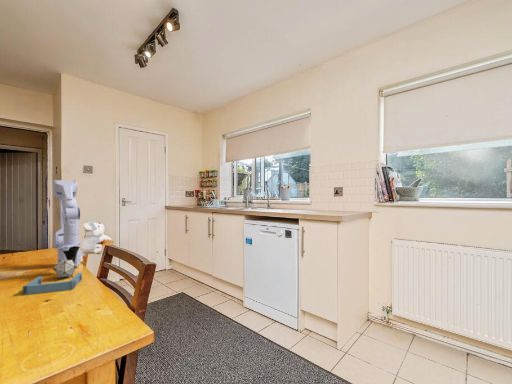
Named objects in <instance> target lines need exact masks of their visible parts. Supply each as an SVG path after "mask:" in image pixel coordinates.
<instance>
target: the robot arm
mask: <svg viewBox="0 0 512 384" xmlns="http://www.w3.org/2000/svg"><path fill="white" fill-rule="evenodd" d="M52 190H53V191H52V192H53V197H54V198H56V199H58V201H59V202H58V203H59V211H60V212H59V214H60V215H59V217H60V221H59V222H60V229H58V230H57V231H56V232H54V234H53V247H54V249H57V264H56V265H55V266H54V267H53V269H55V268H56V266H57V265H58V263H59V260H60V261H64V260H72V258H74V259H73V262H74V264H75V266H77V267H78V265H80V264H81V263H82V250H81V247H80V246H81V245H82V244H83V242H80V221H79V220H80V219H81V209H80V206H78V203H77V202H78V201H77V199H76V198H75V197H76V195H77V193H78V192H77V191H78V181H77V180H69V179H68V180H66V179H64V180H63V179H62V180H61V179H60V180H59V179H54V180H53V182H52Z"/></svg>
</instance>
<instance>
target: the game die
mask: <svg viewBox="0 0 512 384" xmlns="http://www.w3.org/2000/svg"><path fill="white" fill-rule="evenodd" d="M73 259H74V258H72V260H64V261H60V260H59V263H58V262H57V264H56V265H57V266H56V265H55V266H56V268H52V270H53V271H54V272H55V273H56V274H57V280H60V279H61V278H68V277H71V278H74V276H73V275H74V273H75V271H76V269H79V267H78V265H77V266H75V264H74V262H73Z"/></svg>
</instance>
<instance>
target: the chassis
mask: <svg viewBox="0 0 512 384" xmlns="http://www.w3.org/2000/svg"><path fill="white" fill-rule="evenodd" d="M82 280H83V272H78V273H77V274H75V276H73V277H71V279H70V280H65V281H57V282H48V283H47V282H46V283H45V282H44V283H43V276H37V277H35V278H34V279H33V280H31V281H30V282H28V283H26V284H25V285H23V286H22V295H23V296H28V295H35V294H46V293H53V292H62V291H71V290H74V289H75V288H76V286H78V285H79V283H81V281H82Z"/></svg>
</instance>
